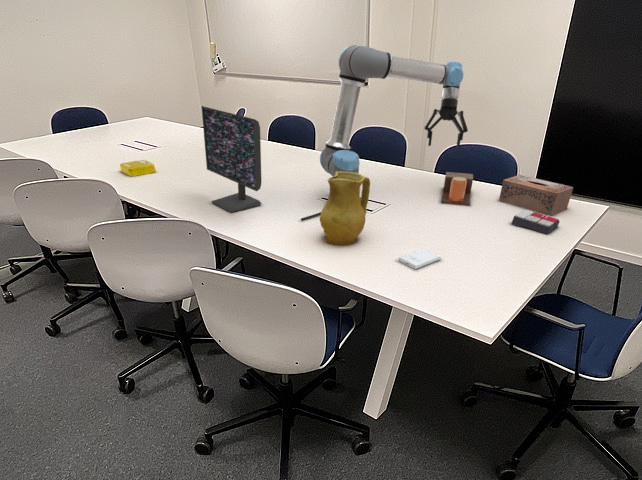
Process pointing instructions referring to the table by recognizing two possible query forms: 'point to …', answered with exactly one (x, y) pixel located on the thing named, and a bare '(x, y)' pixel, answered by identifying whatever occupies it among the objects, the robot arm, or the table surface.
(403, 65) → the robot arm
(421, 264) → the hard drive
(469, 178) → the brown wooden step stand
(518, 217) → the grey and red box
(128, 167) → the element tile
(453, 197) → the canister
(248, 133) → the computer monitor
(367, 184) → the pitcher
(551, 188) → the tissue box cover
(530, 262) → the table surface
